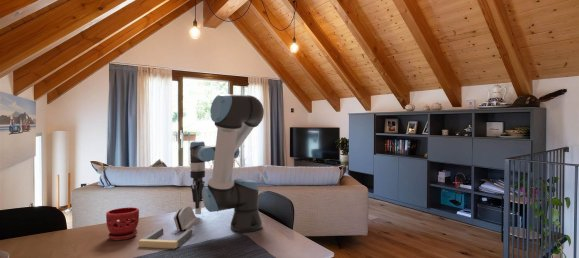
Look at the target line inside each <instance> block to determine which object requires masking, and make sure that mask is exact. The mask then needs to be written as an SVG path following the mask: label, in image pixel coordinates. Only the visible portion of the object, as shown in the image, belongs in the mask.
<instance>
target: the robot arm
mask: <svg viewBox="0 0 579 258" xmlns="http://www.w3.org/2000/svg"><path fill="white" fill-rule="evenodd" d="M264 115H265V110H264V106H263V103H262V102H261V100H260V99H259V98H257V97H256V96H254V95H249V94H246V95H244V94H243V95H242V94H230V93H226V94H222V93H221V94H218V95H216V96H215V97H214V98H213V101H212V103H211V106H210V118H211V121H212V122H213V123H214V126H215V127H216V128H217V130H216V132H217V133H216V139H215V145H206V144H205V142H204V141H200V140H197V141H196V140H195V141H194V140H193V141H191V142H190V143H189V162H190V163H189V166H190V168H189V169H190V172H189V173H190V178H191V179H192V184H191V185H190V189H191V193H192V202H193V203H194V204H195V205H194V214H195V215H201V214H202V202H203V205H204V207H205V209H206V210H207V211H208V212H210V213H212V212H214V213H215V212H221V211H226V210H232V209H234V210H233V214H232V218H231V221H230V229H231V230H232V231H233V232H237V233H252V232H256V231H259V230H261V229H262V228H263V220H262V218H261V215H260V212H259V192H260V191H259V184H258V182H257V181H256V180H253V179H248V178H246V179H245V178H235V179H233V180H232V178H233V177H232V176H233V169H234V162H235V161H234V160H235V159H237V158H239V155H240V147H241V146H242V144H243V143H244V142H245V140H246V139H247V138H248V137H249V135H250V133H251V132H252V131H253V129H255V128H257V127H259V126H260V124H261V123H262V121H263V118H264ZM211 161H213V167H212V175H211V178H209V179H208V181H207V185H205V180H203V178H205V177H206V162H208V163H209V162H211Z"/></svg>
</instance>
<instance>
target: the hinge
mask: <svg viewBox="0 0 579 258" xmlns="http://www.w3.org/2000/svg"><path fill="white" fill-rule="evenodd" d="M173 221H174V223H175V227H176V231H177V232H181V231H184V230H185V231H186V230H187V229H193V227H195V226H196V225H197V224H198V223H199V222H200V218H199V217H197V216H196V214H195V211H194V210H193V208H192V207H191V206H186V207H182V208H181V209H178V210H177V211H176V213H175V214H174V216H173Z"/></svg>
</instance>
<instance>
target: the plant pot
mask: <svg viewBox="0 0 579 258" xmlns="http://www.w3.org/2000/svg"><path fill="white" fill-rule="evenodd" d="M105 214H106V215H105V218H106V219H105V220H106V227H107V230H108V232H109V233H108V238H109V239H110V240H113V241H120V240H121V241H122V240H123V241H125V240H128V239H130V238H133V237H135V236H136V235H137V234H138V229H137V228H138V225H139V221H140V210H139V208H138V207H133V206H132V207H131V206H130V207H121V208H120V207H119V208H114V209H111V210H108V211H106V213H105Z"/></svg>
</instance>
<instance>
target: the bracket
mask: <svg viewBox="0 0 579 258" xmlns="http://www.w3.org/2000/svg"><path fill="white" fill-rule="evenodd" d="M163 234H164V228H163V227H159V228H156V229H155V230H154V231H152V232H151V233H149V234H147V235H145V236H144V237H143V238H141V239H139V240H138V248H156V249H157V248H159V249H160V248H161V249H175V248H176V249H177V248H178V247H180V245H182V244H183V243H184V242H185V241H186V240H188V239H189V238H190V237H191V236H192V235H193V228H191V229H187V230H186V229H185V231H183V232H182V233H181V234H179V236H177V237H176V238H174V239H173V240H172V239H171V240H170V239H169V240H168V239H158V238H159V237H160V236H162V235H163Z"/></svg>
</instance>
